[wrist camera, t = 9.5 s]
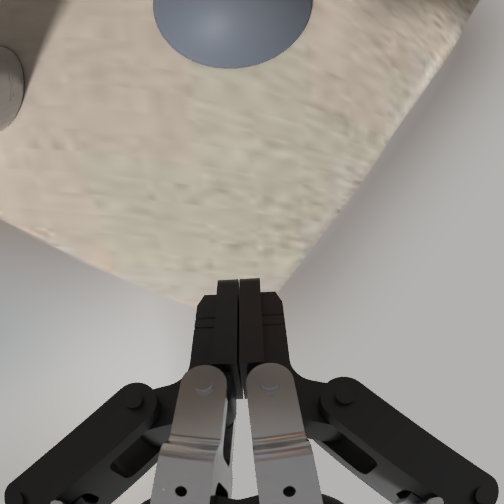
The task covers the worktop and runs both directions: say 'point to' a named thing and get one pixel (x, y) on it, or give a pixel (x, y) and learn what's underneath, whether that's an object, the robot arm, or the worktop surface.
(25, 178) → the worktop surface
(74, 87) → the worktop surface
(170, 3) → the disc
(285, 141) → the worktop surface
